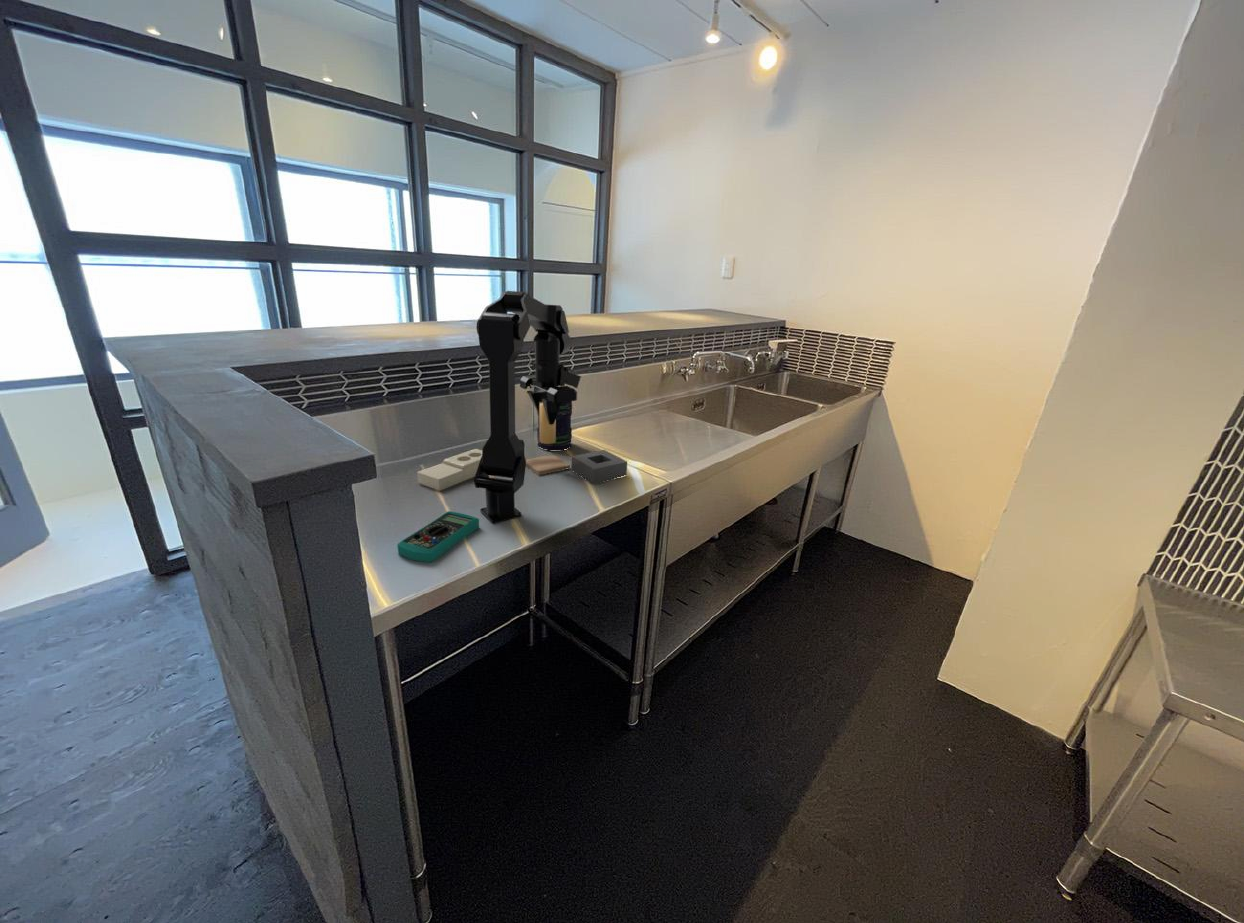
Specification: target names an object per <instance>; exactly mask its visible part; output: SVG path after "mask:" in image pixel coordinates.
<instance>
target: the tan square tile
mask: <svg viewBox="0 0 1244 923" xmlns="http://www.w3.org/2000/svg"><path fill="white" fill-rule="evenodd" d="M527 467H528V470H530V469H531V470H530V471H532V473H534V472H535V474H536V475H537V474H538V476H542V474H543V475H548V474H551V472H553V473H556V472H555V471H557V472H560V471H559V470H562V471H564V470H563V469H566V468H570V469H571V465H570V464H569V463H568V462H566V461H563V460H562V459H561V458H559V457H557V456H556V455H554V454H549V455H542V456H537V457H533V458H528V459H526V468H527ZM547 473H548V474H547Z"/></svg>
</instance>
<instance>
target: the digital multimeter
mask: <svg viewBox="0 0 1244 923" xmlns="http://www.w3.org/2000/svg"><path fill="white" fill-rule="evenodd" d="M479 520H480V519H479V518H477V517H476V516H472V515H469V514H467V513H461V512H456V511H451V510H450V511H449V510H448V511H446V512H445V513H443V514H442V515H440V516H439V517H438V518H436V519H434V520H432V521H431V522H430V523H428V524H427V525H425V526H423V527H422V528H420V529H419V530H418V531H415V532H414V533H412V534H411V535H409V536H407V537H406V538H404V539H402V540H401V541H400V542H398V543H397V545H396V546H397V553H398V554H399V555H400V556H402V557H404V558H406V559H408V560H413V561H418V562H423V563H433V562H435V561H436V560H438V559H439V558H440V557H441V556H442V555H443V554H445V553H446V552H447V551H449V550H450V549H451V548H452V547H454V546H455V545H457V543H458V544H459V542H460V541H462V540H463V539H465V538H466V537H468V536H469V535H471V534H473V533H474V532H475V531H476V530H477V529H479V528H480V521H479ZM439 556H440V557H439Z"/></svg>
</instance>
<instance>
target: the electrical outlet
mask: <svg viewBox="0 0 1244 923" xmlns="http://www.w3.org/2000/svg"><path fill="white" fill-rule="evenodd" d="M481 457H482V449H478V448H474V449H473V448H472V449H471V450H468V451H466V452H465V451H464V452H462V453H459V454H456V455H453V456H450V457H447V458H444V459H443V460H442V463H439V464H437V465H433V466H430V467H427V468H425V469H421V470H419V471H416V474H417V475H416V476H417V483H418V484H419V485H422V486H426V487H427V488H430V489H433V490H436V491H439V492H440V491H442V490H445V489H448V488H450V487H452V486H456V485H457V484H459V483H462V482H465V481H467V480H470V479H472V478H475V475H476V472H477V469H478V466H479V463H480V460H481Z"/></svg>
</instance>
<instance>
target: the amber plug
mask: <svg viewBox="0 0 1244 923" xmlns="http://www.w3.org/2000/svg"><path fill="white" fill-rule="evenodd" d="M539 422H540V442H541V443H544V444H551V443H555V442H556V419H555V422H554V424H552V425H550V424H549V422H548V419H547V415H546V412H545V408H544V405H543V401H541V402H539Z"/></svg>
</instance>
